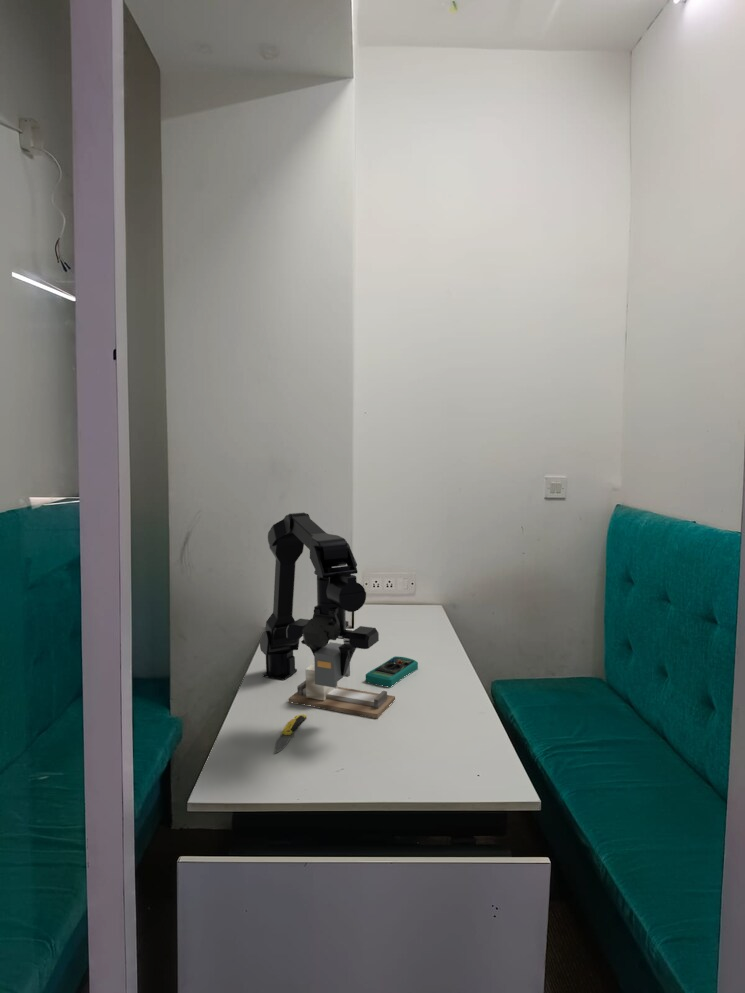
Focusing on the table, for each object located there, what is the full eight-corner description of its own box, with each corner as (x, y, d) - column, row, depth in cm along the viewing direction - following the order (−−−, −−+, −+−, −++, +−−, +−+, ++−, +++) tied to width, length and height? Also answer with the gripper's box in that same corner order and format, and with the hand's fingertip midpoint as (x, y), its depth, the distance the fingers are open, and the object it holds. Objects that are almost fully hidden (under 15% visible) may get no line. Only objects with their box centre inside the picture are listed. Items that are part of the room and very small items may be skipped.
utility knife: (284, 751, 124) (269, 750, 124) (284, 757, 124) (269, 756, 125) (306, 714, 140) (293, 713, 140) (306, 719, 140) (293, 718, 140)
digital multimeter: (419, 669, 168) (419, 658, 167) (390, 690, 155) (390, 678, 155) (394, 664, 172) (394, 654, 171) (364, 684, 159) (364, 672, 159)
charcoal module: (314, 684, 132) (313, 653, 132) (331, 672, 139) (330, 642, 138) (334, 687, 130) (333, 656, 130) (350, 675, 137) (349, 644, 136)
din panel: (288, 702, 148) (287, 669, 147) (310, 686, 157) (309, 654, 156) (377, 718, 139) (377, 683, 138) (395, 700, 148) (394, 667, 147)
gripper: (270, 605, 129) (273, 681, 131) (355, 615, 122) (356, 695, 123) (299, 591, 139) (301, 662, 141) (379, 600, 132) (380, 674, 134)
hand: (332, 673), depth 135 cm, fingers closed on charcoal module, 4 cm apart
